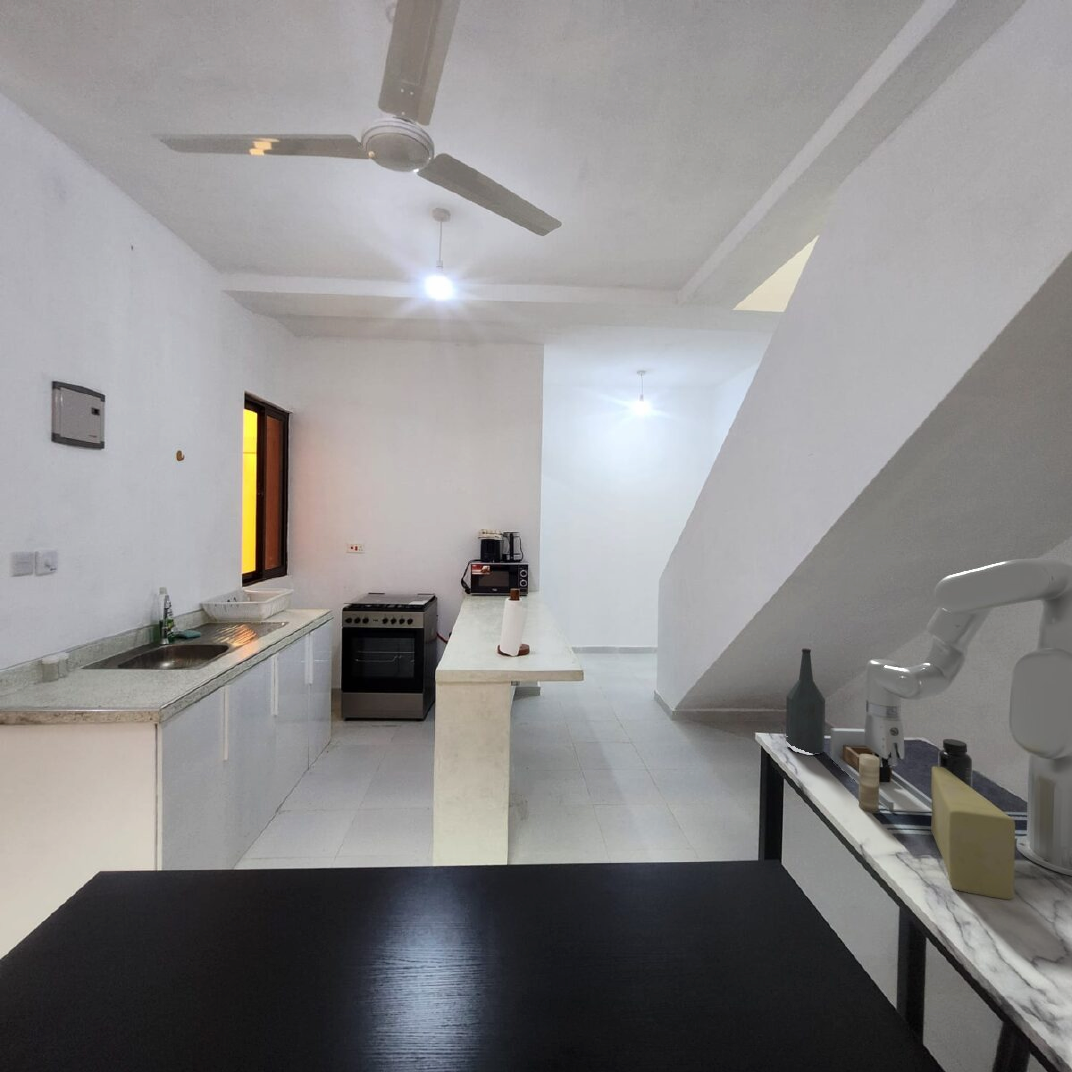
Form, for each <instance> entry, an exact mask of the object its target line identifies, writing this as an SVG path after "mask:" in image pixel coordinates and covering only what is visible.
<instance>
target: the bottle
mask: <svg viewBox="0 0 1072 1072" xmlns="http://www.w3.org/2000/svg"><path fill="white" fill-rule="evenodd" d="M811 652H812V650H811V649H810V648H802V649H801V661H800V670H799V677H798V680H797V681H796V683H795V684H794V685H793V687H792V688H791V689H790V691H789V693H788V694H787V695H786V712H785V713H786V714H785V715H786V716H785V718H786V719H785V720H786V721H785V725H786V726H785V727H786V728H785V742H786V741H787V742H788V743H789V744H790V745H791V746H795V747H796V748H798V749H801V750H804V751H805V752H809V753H813V754H815V753H821V754H822V753H823V752H824V750H825V744H826V743H825V737H826V736H825V729H826V727H825V726H826V725H825V724H826V699H825V697H824V696H823V694H822V693H821V691H820V690H819V688H818V686H817V685H816V683H815V682H814V679H813V676H814V675H813V668H812V667H813V666H812V659H811V658H812V657H811ZM786 736H788V737H786Z"/></svg>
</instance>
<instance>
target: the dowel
mask: <svg viewBox="0 0 1072 1072" xmlns="http://www.w3.org/2000/svg"><path fill="white" fill-rule="evenodd" d="M879 805H880V803H879V758H878V757H876V756H874V755H870V754H860V755H859V784H858V807H859V809H861V810H862V811H865V812H868V813H878V812H879V811H880V810H879V809H880V808H879Z"/></svg>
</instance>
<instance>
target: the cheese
mask: <svg viewBox="0 0 1072 1072" xmlns="http://www.w3.org/2000/svg"><path fill="white" fill-rule="evenodd" d="M930 778H931V779H930V781H931V783H930V785H931V787H930V790H931V791H930V792H931V793H930V795H931V798H930V799H932V812H931V822H930V823H931V826H930V827H931V828H930V830H931V833H932V836H933V839H934V840H935V844H936V846H937V848H938V850H939V852H940V854H941V857H942V859H943V863H944V866H945V868H946V872H947V876H948V880H949V884H950V887H952V889H954V890H956V891H958V890H959V891H958V892H962V891H963V893H967V892H968V894H973V895H974V894H975V895H978V894H980V896H983V897H990V898H996V899H1002V900H1011V899H1012V900H1013V898H1014V895H1015V894H1014V893H1015V854H1016V853H1015V848H1016V847H1015V846H1016V843H1015V842H1016V821H1015V820H1014V818H1013V817H1011V816H1009V815H1008V814H1006V812H1004V811H1003V810H1002V809H1000V808H999V807H997V805H995V804H993V803H992V802H991V801H990V800H988V799H987V798H986V797H984V796H983V795H982V794H980V793H979V792H978V791H976V790H975V789H974V788H973V787H972V788H971V787H969V786H968V785H967V784H965V783H964V782H963V781H961V780H960V779H959V778H957V777H956V776H955V775H953V774H952V773H951V772H950V771H948V770H947V769H945V768H943V767H938V765H933V766H931V777H930Z"/></svg>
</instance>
